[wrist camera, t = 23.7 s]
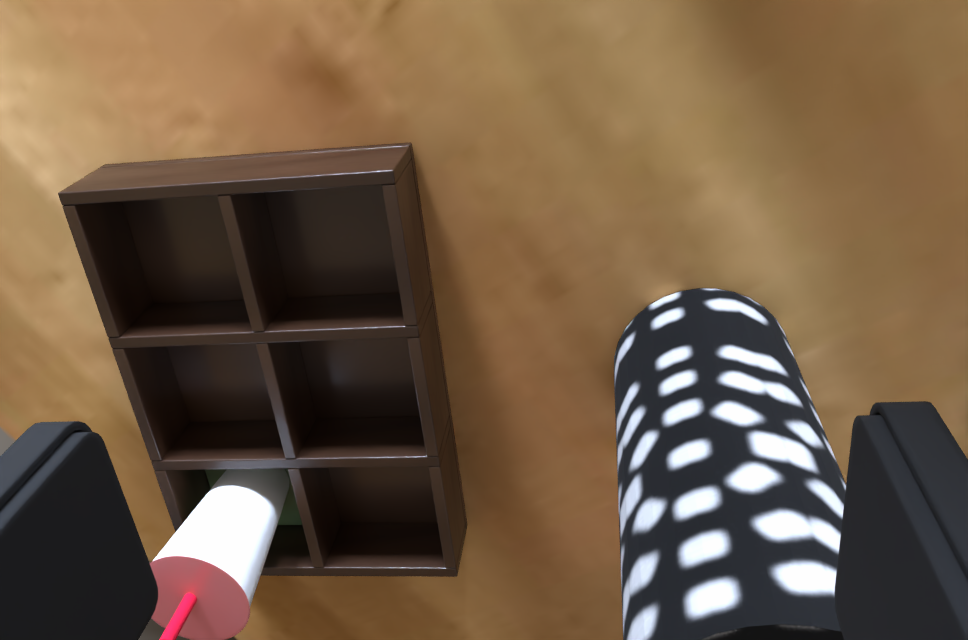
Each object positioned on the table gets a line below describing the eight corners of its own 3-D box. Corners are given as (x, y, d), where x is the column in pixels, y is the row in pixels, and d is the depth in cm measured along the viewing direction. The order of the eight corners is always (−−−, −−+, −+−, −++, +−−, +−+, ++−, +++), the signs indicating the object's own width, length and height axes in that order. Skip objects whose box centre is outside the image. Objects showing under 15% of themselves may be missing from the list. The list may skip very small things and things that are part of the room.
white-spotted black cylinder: (658, 457, 44) (699, 847, 27) (584, 331, 41) (575, 675, 24) (816, 398, 42) (977, 787, 24) (748, 258, 39) (875, 585, 21)
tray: (104, 164, 40) (57, 192, 37) (412, 141, 38) (393, 169, 34) (218, 525, 50) (190, 575, 47) (467, 525, 48) (457, 577, 44)
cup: (245, 421, 45) (139, 589, 35) (325, 478, 47) (247, 658, 36) (194, 477, 48) (81, 651, 37) (272, 531, 49) (184, 714, 38)
